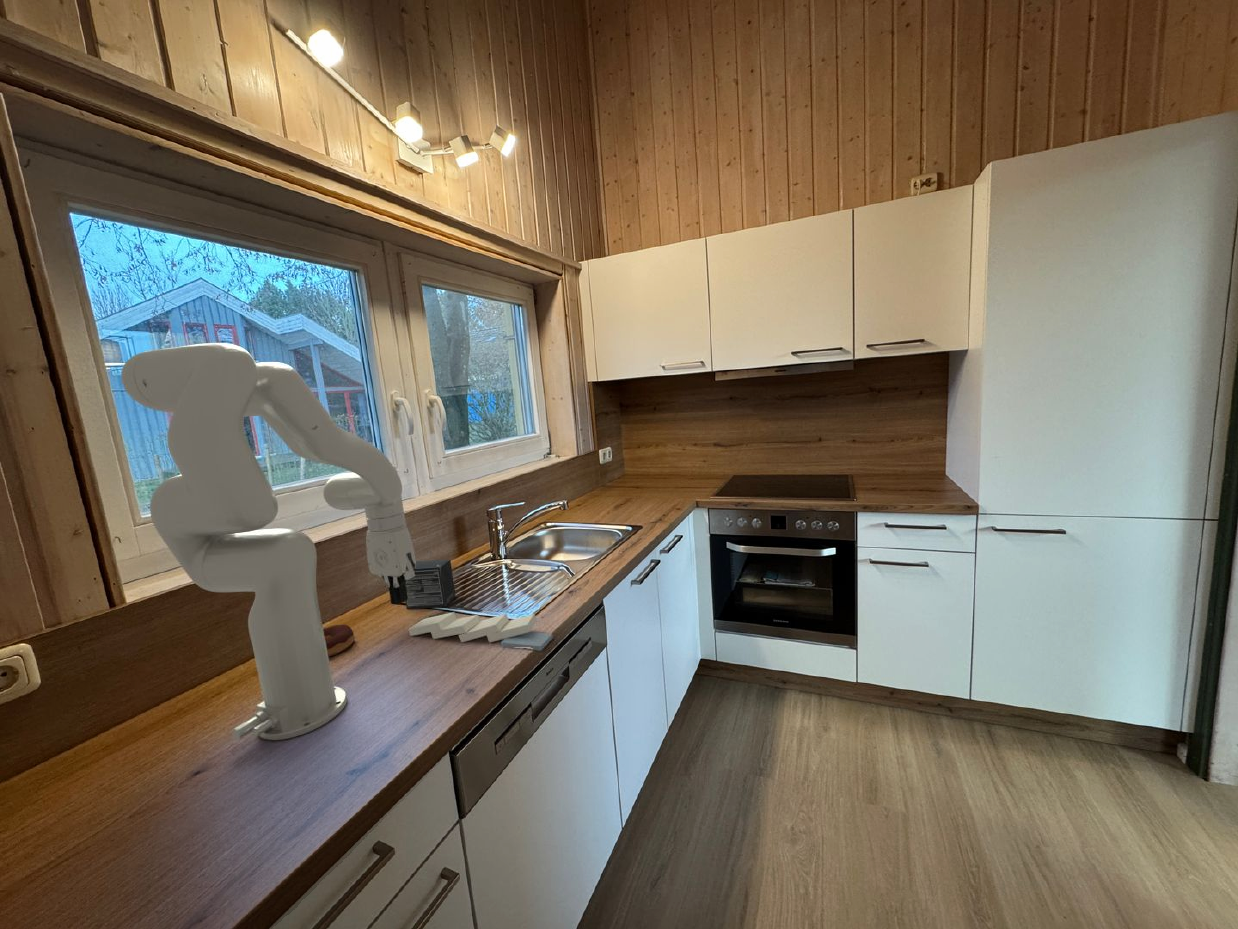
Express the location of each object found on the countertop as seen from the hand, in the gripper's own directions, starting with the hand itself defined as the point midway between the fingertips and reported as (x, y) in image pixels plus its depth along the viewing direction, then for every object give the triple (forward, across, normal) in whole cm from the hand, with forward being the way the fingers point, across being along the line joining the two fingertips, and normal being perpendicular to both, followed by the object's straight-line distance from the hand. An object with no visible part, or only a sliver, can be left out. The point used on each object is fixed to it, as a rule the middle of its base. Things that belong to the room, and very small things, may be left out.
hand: (399, 601), depth 111 cm
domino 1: (+6, +4, 0) cm, 7 cm away
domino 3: (+6, +18, 0) cm, 19 cm away
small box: (+7, -4, +13) cm, 15 cm away
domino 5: (+6, +28, +1) cm, 28 cm away
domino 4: (+5, +24, +2) cm, 24 cm away
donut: (+7, -9, -12) cm, 16 cm away
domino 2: (+6, +11, 0) cm, 12 cm away
